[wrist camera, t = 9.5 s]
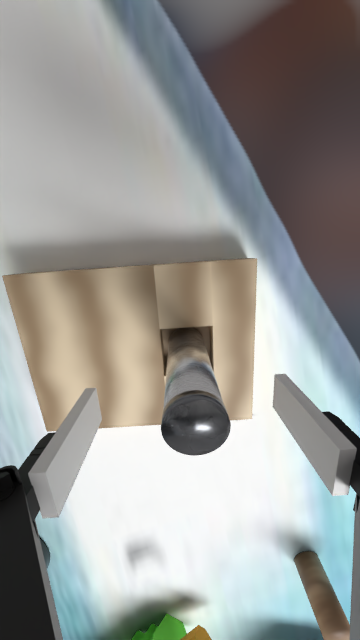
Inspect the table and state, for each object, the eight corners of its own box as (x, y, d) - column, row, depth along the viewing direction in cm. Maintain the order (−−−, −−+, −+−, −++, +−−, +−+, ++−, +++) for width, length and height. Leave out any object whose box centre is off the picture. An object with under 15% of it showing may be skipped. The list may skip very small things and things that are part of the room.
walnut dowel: (293, 567, 38) (322, 645, 31) (295, 551, 37) (325, 629, 29) (316, 565, 38) (351, 644, 30) (319, 550, 37) (356, 627, 29)
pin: (169, 360, 26) (164, 457, 14) (166, 327, 25) (158, 401, 13) (204, 358, 26) (230, 452, 14) (203, 325, 25) (230, 396, 13)
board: (60, 413, 29) (46, 431, 26) (23, 273, 24) (2, 275, 21) (244, 402, 29) (251, 418, 26) (247, 258, 24) (257, 258, 21)
